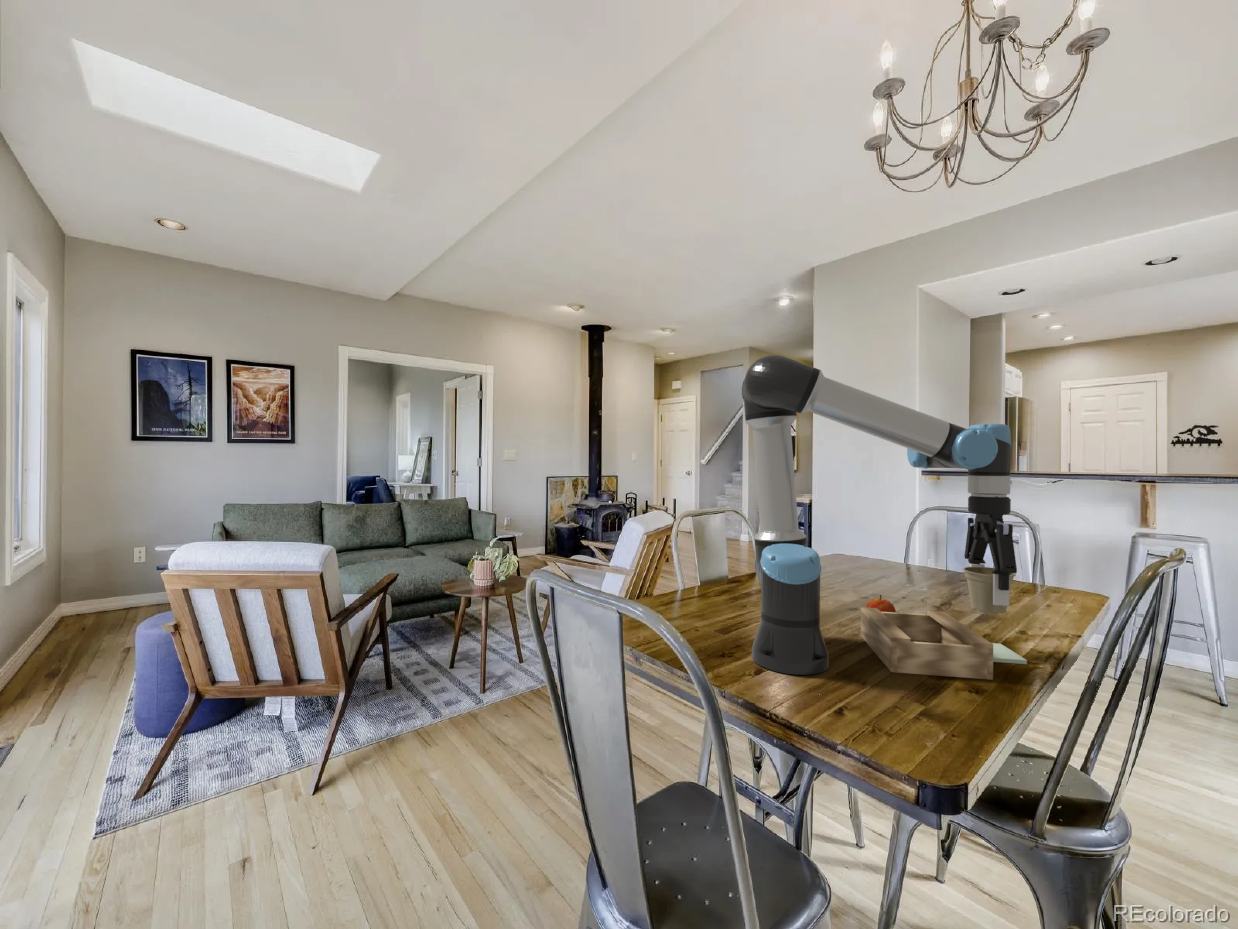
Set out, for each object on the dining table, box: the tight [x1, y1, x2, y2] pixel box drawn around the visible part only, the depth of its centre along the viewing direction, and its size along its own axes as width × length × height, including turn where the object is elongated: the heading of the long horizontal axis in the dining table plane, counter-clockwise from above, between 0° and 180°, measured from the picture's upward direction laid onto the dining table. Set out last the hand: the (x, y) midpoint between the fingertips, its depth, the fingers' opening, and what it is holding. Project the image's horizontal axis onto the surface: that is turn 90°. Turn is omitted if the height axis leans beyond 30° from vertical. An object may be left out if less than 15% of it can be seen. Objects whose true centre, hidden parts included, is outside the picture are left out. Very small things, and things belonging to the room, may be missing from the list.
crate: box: [860, 606, 994, 681], centre depth 112 cm, size 18×22×7 cm
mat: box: [991, 642, 1028, 665], centre depth 113 cm, size 10×10×1 cm
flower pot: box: [962, 566, 1017, 615], centre depth 113 cm, size 9×9×9 cm
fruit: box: [865, 594, 897, 613], centre depth 132 cm, size 7×7×8 cm
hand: (988, 598), depth 113 cm, fingers closed on flower pot, 9 cm apart
